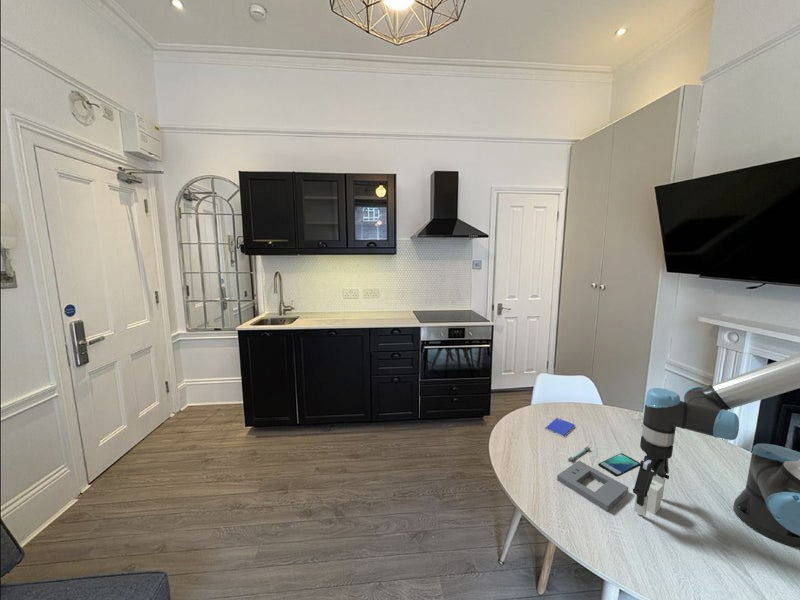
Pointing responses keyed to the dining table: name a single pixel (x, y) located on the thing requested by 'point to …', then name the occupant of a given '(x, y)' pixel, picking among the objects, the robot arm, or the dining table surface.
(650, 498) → the charger
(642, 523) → the dining table surface
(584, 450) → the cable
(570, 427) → the hard drive
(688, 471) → the dining table surface
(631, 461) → the smartphone
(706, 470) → the dining table surface
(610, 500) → the outlet plate
